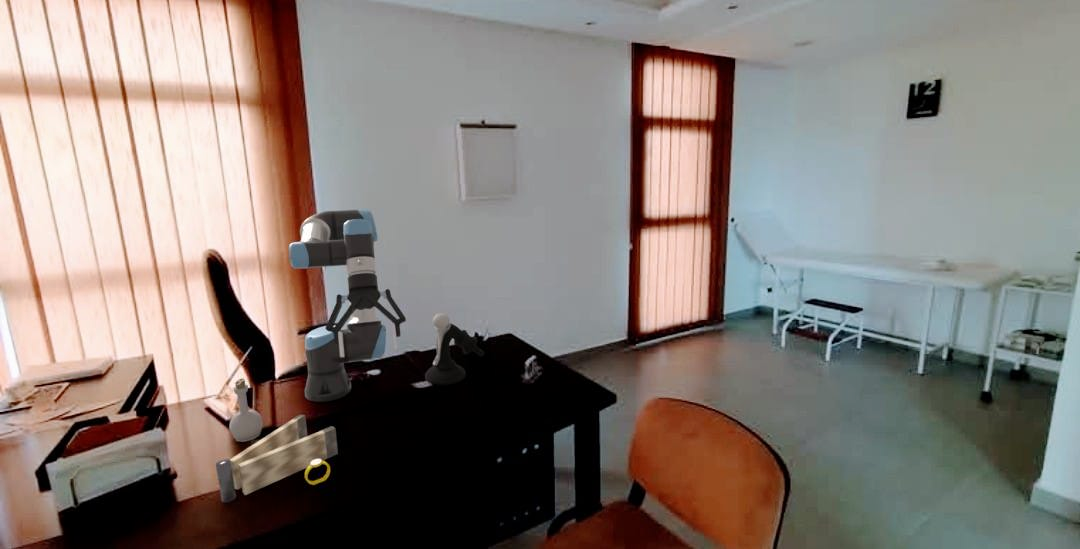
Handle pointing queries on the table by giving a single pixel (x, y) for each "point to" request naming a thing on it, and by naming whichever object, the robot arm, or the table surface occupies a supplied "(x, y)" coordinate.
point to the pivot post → (225, 480)
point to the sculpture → (444, 366)
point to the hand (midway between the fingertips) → (369, 353)
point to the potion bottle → (244, 417)
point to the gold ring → (315, 464)
